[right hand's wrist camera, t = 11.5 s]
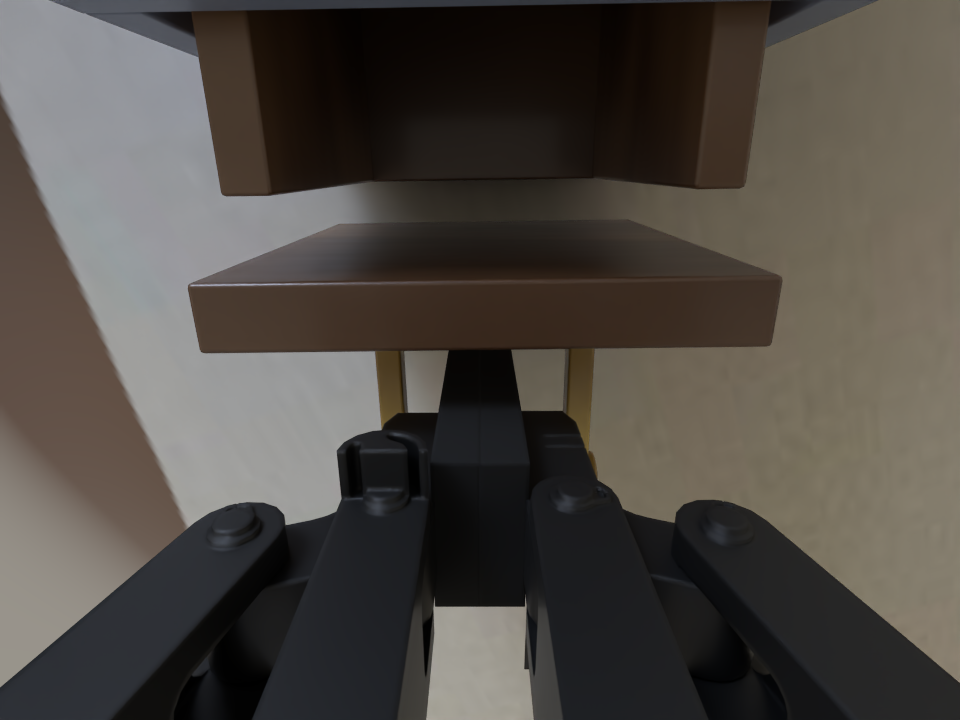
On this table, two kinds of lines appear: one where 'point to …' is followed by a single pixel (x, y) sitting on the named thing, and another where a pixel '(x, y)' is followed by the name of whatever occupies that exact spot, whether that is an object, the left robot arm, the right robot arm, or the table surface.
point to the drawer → (484, 178)
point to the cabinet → (168, 4)
